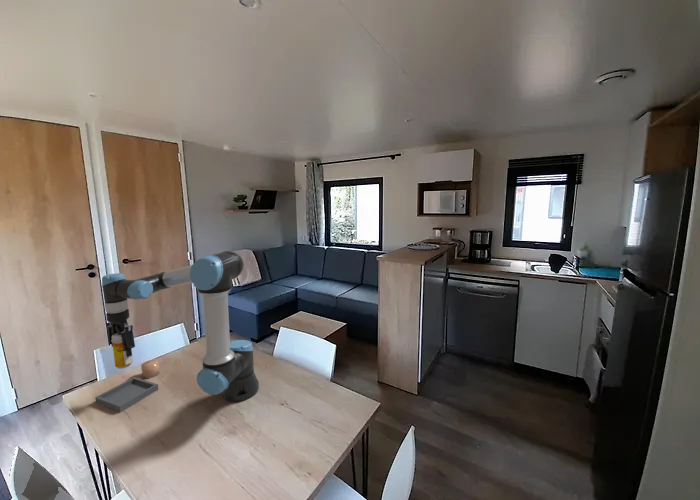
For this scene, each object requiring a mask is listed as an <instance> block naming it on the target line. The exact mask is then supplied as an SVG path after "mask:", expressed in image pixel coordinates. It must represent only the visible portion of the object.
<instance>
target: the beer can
mask: <svg viewBox="0 0 700 500" xmlns="http://www.w3.org/2000/svg"><path fill="white" fill-rule="evenodd" d="M123 332H125V331H123ZM121 333H122V332H121ZM112 345H113V347H112V352H113V359H114V366H115V367H116V369H119V370H121V369H125V368H128V367H130V366H131V365H132V364H133V362H134V361H133V362H131V363H129V364H127V365H125V360H124V352H123V350H124V346H123V343H122V337H121V335H118V333H115V334H112ZM132 359H133V360H134V358H133V357H132Z"/></svg>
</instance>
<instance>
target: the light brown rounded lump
mask: <svg viewBox="0 0 700 500" xmlns="http://www.w3.org/2000/svg"><path fill="white" fill-rule="evenodd" d="M140 366H141V374H142V378H143V380H147V379H152V378H155V377H157V376H158V375H160V365H159V360H158V359H151V360H146V361H145V362H143V363H141V365H140Z"/></svg>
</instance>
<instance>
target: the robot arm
mask: <svg viewBox="0 0 700 500" xmlns="http://www.w3.org/2000/svg"><path fill="white" fill-rule="evenodd" d="M244 265H245V264H244V259H243V258H242V257H241V256H240V254H238V253H236V252H234V251H232V250H231V251H229V250H227V251H222V252H218V253H213V254H207V255H205V256H203V257H200V258H198V259H196V260H195V261H194V262H193V264H190V265H187V266H182V267H179V268H176V269H171V270H170V269H169V270H167V271H162V272H159V273H155V274H152V275H148V276H145V277H141V278H136V279H126V276H125V274H123V273H118V272H117V273H110V274H105V275H103V276H102V277H101V284H102V285H101V287H102V288H101V289H102V294H103V300H104V310H105V317H106V323H105V325H106V328H107V338H108V339H107V340H108V345H110V346H111V347H112V348H113V345H112V334H115V333H118V335H121V337H122V343H123V346H124V350H123V352H124V360H125V365H127V364H129V363H131V362H134V358H133V350H132V349H133V348H135V347H136V343H135V337H134V332H133V330H134V329H133V328H134V327H133V325H132V324H130V325H129V324H128V321H127V320H128V319H129V318H130V311H129V310H130V309H129V303H128V302H129V300H130V299H131V300H146V299H148V298H149V297H151V295H152V294H153V293H157V292H160V291H163V290H167V289H170V288H176V287H179V286H185V285H188V284H193V287H195V289H197V292H198V294H200V295H202V298H203V299H202V300H203V301H202V302H203V317H204V334H205V335H204V336H205V349H206V350H205V351H206V354H205V355H203V357H202V360H201V361H202V362H201V363H202V369H200V370H199V372H198V373H197V375H196V384H197V385H198V387H199V389H200V390H202V391H203V392H205V393H206V394H208V395H211V396H213V395H214V396H215V395H220V394H223V395H222V396H223V398H224V400H227V401H229V402H242V401H246V400H248V399H251V398H252V397H254V396H255V395H256V394H257V393H258V391H259V389H260V385H259V384H260V382H259V379H257V376H256V373H255V368H254V367H255V366H254V346H253V343H252V342H251V341H249V340H246V339H236V340H231V337H230V317H229V295H228V294H229V292H231V290H233V289H232V280H235V279H236V278H238V277H239V276H240V275H242V273H243V270H244ZM128 299H129V300H128ZM123 331H125V332H123ZM121 332H122V333H121ZM132 358H133V359H132Z"/></svg>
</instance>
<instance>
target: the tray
mask: <svg viewBox="0 0 700 500" xmlns="http://www.w3.org/2000/svg"><path fill="white" fill-rule="evenodd" d="M159 390H160V389H159V384H158V383H155V382H153V381H149V380H147V379H144V378H143V379H142V378H140V377H139V378H138V377H136V376H133V377H131V378H129V379H128V380H126V381H124V382H122V383H120V384H118V385H116V386H115V387H113V388H111V389H109V390H107V391H105V392H102V393H101V394H99V395H96V396H95V403H96V404H98V405H100V406H103V407H105V408H108V409H111V410H112V411H115V412H118V413H122V412H123V411H124V412H125V410H127V409H128V408H130V407H132V406H134V405H135V404H137V403H139V402H140V401H142V400H143V399H145V398H146V397H148V396H150V395H152V394H154V393H155V392H157V391H159Z"/></svg>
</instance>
